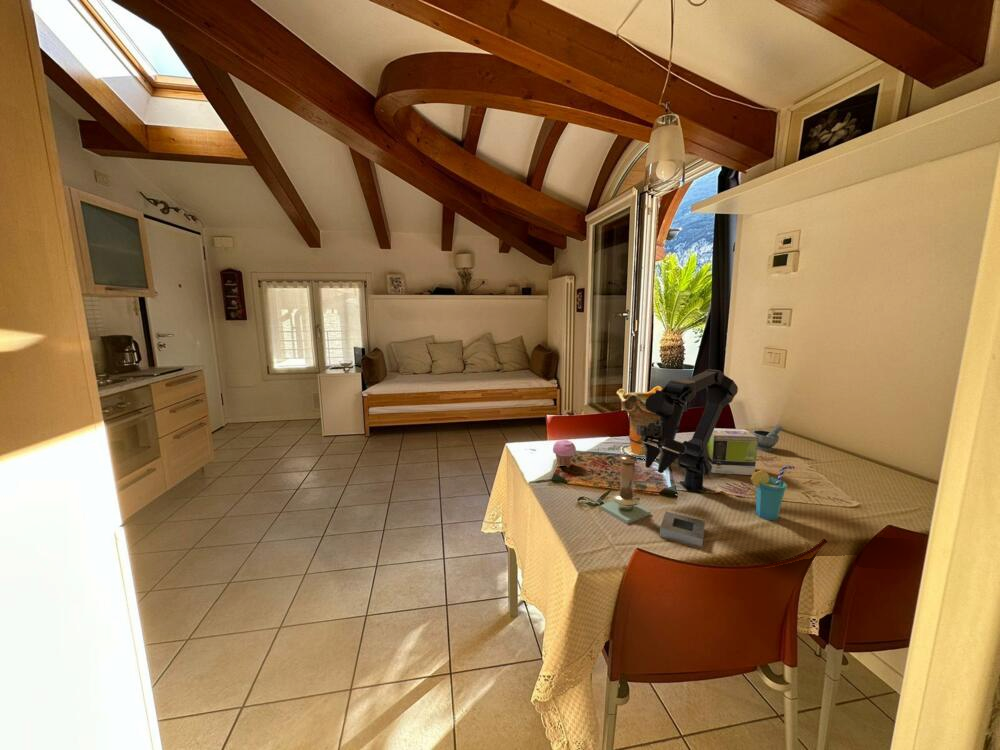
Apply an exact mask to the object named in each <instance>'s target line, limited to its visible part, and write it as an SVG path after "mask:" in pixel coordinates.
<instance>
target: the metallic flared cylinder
mask: <svg viewBox="0 0 1000 750" xmlns="http://www.w3.org/2000/svg"><path fill="white" fill-rule="evenodd" d="M637 461H638V459H637V458H636V457H635V456H632V455H626V454H621V455H619V462H621V464H620V466H621V467H620V468H621V469H620V485H619V490H617V491H614V492H613V493H612V495H611V496H612V501H614V502H616V503H618V508H619V509H620V510H622V511H627V512H629V511H632V510H633V506H636V505H640V501H641V498H640V496H639V495H638V494H636V493H635V492H634V481H635V479H634V478H635V464H636V463H637Z"/></svg>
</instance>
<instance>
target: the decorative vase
mask: <svg viewBox="0 0 1000 750" xmlns="http://www.w3.org/2000/svg"><path fill="white" fill-rule="evenodd" d="M662 389H663V388H662V386H660V385H657V386H654V387H653V388H652V389H651V390H650V391H645V392H643V391H642V392H640V391H639V392H635V391H634V392H633V391H632V392H626V390H625V389H624V388H619V389H617V391H616V395H617V396H618V398H619V402H620V405H621V407H622V410H623V411H625V412H628V414H629V415H628V416H629V417H628V418H629V435H628V439H629V444H630V445H624V446H621V447H619V448H620V451H621V453H622V454H624V453H625V454H624V455H626V454H629V455H631V454H633V453H634V454H638V455H645V456H646V450H645V447H644V445H643V444H642V442H643V441H641V440H640V439H641V436H640V435H637V426H636V425H646V424H647V423H655V421H656V420H657V421H659V418H660V416H658V415H656V414H654V413H652V412H650V411H648V410H647V408H646V406H645V403H646V399H647V398H648V397H649V396H650V395H652V394H655V392H656V390H659V391H661V390H662ZM643 443H644V442H643ZM657 457H661V452H660V453H659V455H658V456H657Z"/></svg>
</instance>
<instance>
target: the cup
mask: <svg viewBox="0 0 1000 750" xmlns="http://www.w3.org/2000/svg"><path fill="white" fill-rule="evenodd" d="M786 469H789V470H794V469H795V466H793V465H784V466H783V467H781V469H780V471H779V474H778V478H775V477H772V476H770V475H769V473H768V472H766V471H764V470H762V469H760V470H757V471H755V472H754V473H753V475H751V477H750V482H751V484H752V486H754V487H756V489H755V490H756V491H755V492H756V494H755V497H756V498H755V500H756V501H755V515H756V516H758V517H759V518H761V519H764V520H766V521H774V522H775V521H777V520H778V518H779V515H780V510H781V507H782V503H783V499H784V496H785V492H786V489H787V488H788V484H787V483H786V482H784V481H783V480H782V478H783V476H784V474H785V472H786Z"/></svg>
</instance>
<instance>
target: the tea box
mask: <svg viewBox="0 0 1000 750" xmlns="http://www.w3.org/2000/svg"><path fill="white" fill-rule="evenodd" d="M757 444H758V437H757V436H755V435H754V434H752V432H750V431H749V430H747V429H745V428H725V427H724V428H722V427H721V428H719V427H718V428H717V427H715V428H714V430H713V433H712V435H711V437H710V440H709V442H708V444H707V449H708V453H709V456H708V461H709V462H710V464H711V466H712V469H711V472H710V473H711V474H728V475H744V476H745V475H747V476H752V475H753V473H754V472H756V464H757V455H758V449H757Z"/></svg>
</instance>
